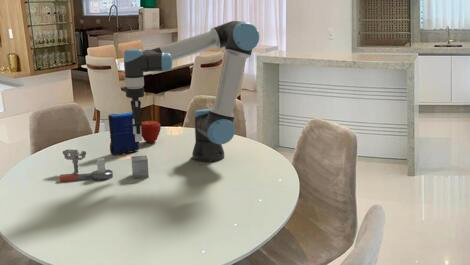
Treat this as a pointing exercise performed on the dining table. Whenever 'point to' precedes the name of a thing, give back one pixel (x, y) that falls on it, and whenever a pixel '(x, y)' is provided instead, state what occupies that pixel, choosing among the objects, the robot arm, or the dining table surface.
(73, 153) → the mechanical component
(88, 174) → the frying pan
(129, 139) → the blue box
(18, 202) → the dining table surface
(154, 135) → the apple
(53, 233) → the dining table surface
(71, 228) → the dining table surface
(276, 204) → the dining table surface
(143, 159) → the gray rectangular block
